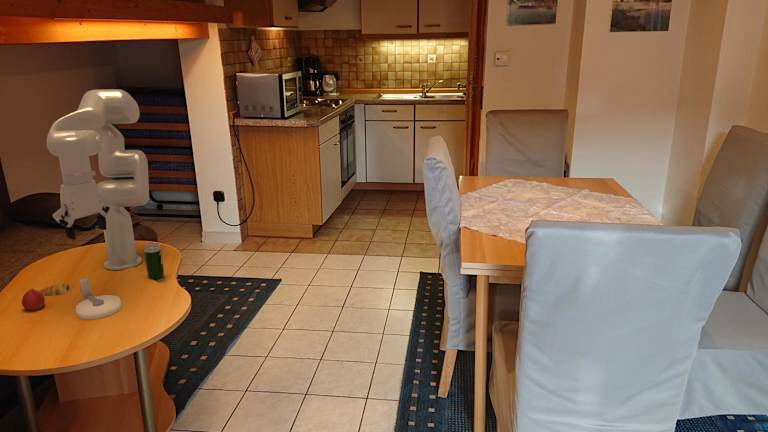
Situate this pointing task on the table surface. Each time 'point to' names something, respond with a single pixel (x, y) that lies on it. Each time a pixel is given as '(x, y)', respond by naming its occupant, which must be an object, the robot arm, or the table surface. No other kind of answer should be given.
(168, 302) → the table surface
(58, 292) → the pastry
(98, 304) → the dial
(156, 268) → the beer can
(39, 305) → the onion
